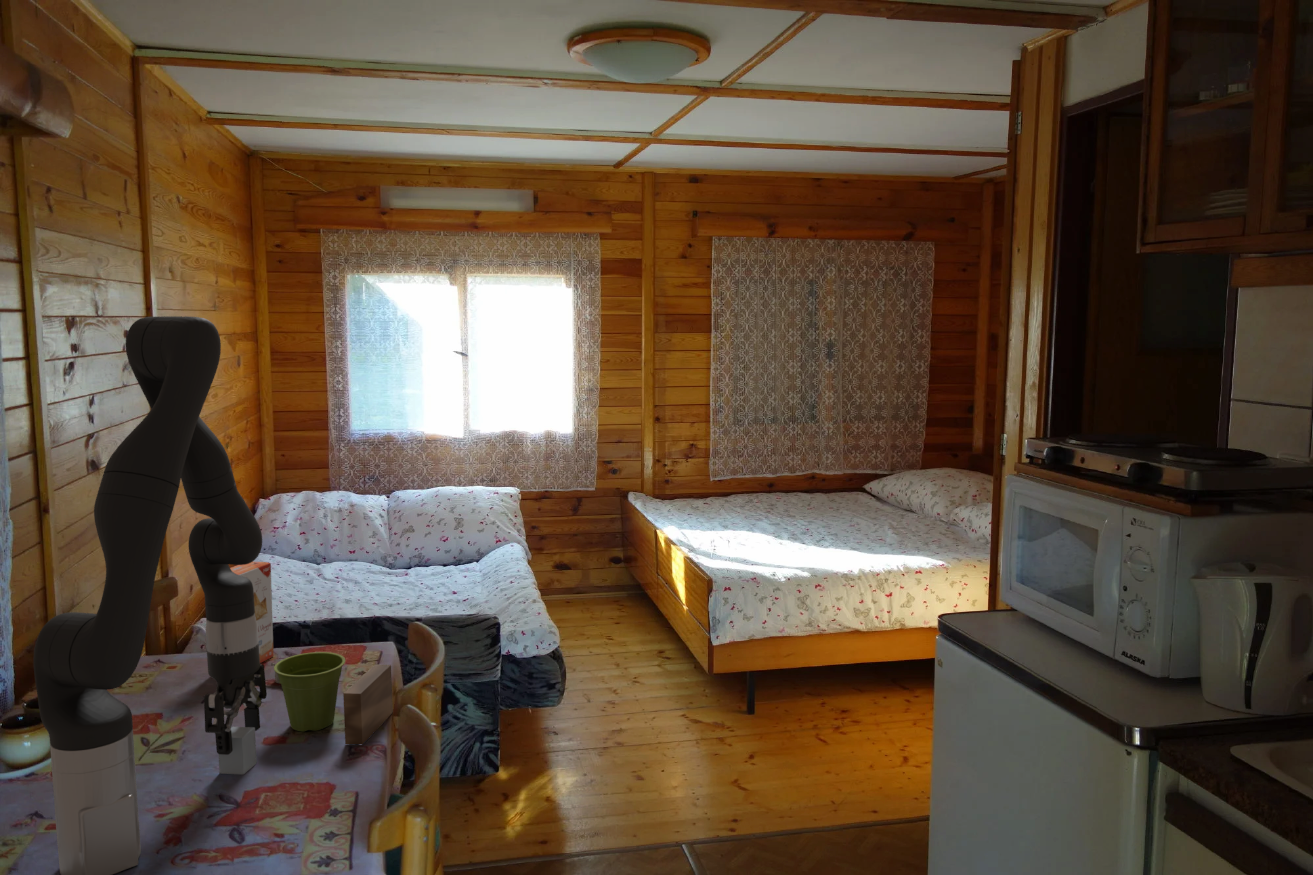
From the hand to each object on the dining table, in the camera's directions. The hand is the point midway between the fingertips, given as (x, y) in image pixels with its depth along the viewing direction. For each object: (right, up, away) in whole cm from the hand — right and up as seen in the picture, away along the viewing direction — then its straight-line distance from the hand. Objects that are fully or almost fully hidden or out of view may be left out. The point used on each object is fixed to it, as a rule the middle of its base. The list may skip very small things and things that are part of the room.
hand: (239, 741), depth 151 cm
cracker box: (-20, 0, +46) cm, 50 cm away
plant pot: (+6, -3, +17) cm, 18 cm away
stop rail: (+16, -3, +15) cm, 22 cm away
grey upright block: (0, -4, 0) cm, 4 cm away
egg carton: (-4, -1, +38) cm, 39 cm away
